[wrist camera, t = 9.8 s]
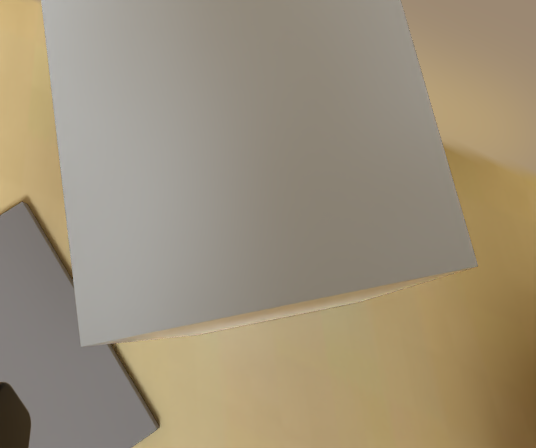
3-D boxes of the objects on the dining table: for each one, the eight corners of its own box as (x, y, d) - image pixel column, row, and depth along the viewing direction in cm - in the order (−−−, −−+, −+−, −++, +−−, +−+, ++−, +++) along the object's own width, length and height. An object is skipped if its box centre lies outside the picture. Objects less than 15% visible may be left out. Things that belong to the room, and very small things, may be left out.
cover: (360, 301, 20) (478, 265, 8) (197, 334, 20) (81, 347, 8) (323, 148, 21) (380, -69, 10) (171, 178, 21) (40, -6, 10)
